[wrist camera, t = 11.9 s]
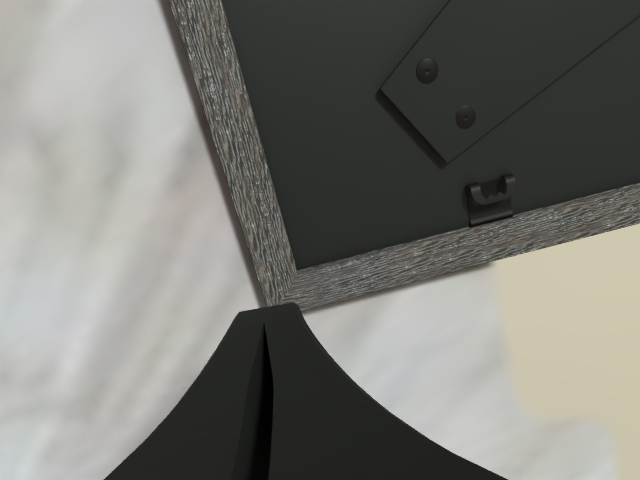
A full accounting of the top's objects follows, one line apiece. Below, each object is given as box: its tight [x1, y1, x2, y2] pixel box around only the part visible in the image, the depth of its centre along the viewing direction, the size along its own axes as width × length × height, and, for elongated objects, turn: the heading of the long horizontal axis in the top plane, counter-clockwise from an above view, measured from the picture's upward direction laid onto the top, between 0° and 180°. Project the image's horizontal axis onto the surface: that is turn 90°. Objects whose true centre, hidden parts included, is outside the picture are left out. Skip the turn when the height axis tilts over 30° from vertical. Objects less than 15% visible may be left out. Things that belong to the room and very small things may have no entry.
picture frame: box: [169, 0, 640, 311], centre depth 18 cm, size 16×2×21 cm
